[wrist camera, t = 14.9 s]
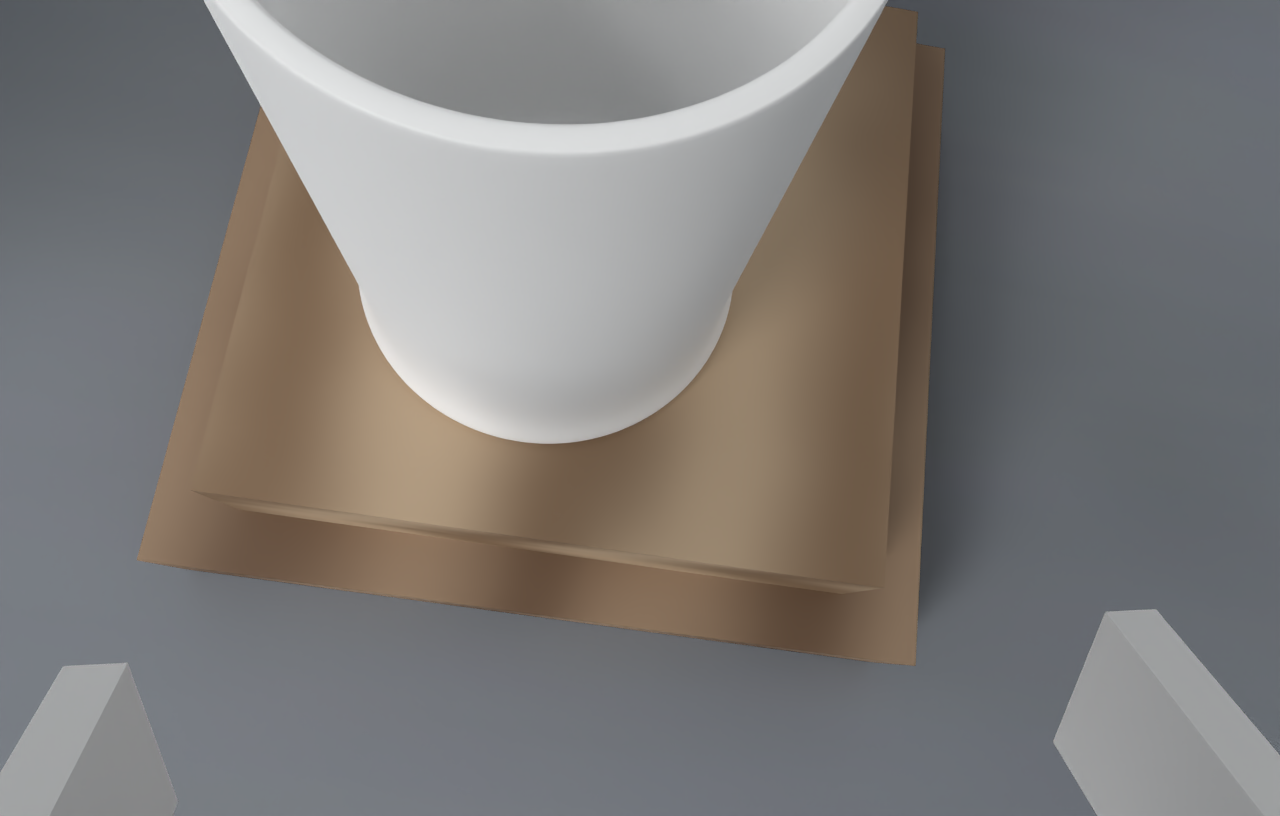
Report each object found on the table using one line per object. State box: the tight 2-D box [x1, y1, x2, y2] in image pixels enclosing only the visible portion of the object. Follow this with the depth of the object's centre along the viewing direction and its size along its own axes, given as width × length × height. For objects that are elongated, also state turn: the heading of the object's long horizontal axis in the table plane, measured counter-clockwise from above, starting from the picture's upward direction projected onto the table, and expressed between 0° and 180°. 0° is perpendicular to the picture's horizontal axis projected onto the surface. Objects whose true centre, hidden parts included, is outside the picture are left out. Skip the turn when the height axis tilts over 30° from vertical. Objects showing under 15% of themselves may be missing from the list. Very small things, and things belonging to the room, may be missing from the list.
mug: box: [204, 0, 888, 444], centre depth 15 cm, size 12×8×12 cm
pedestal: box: [137, 6, 945, 666], centre depth 24 cm, size 19×18×6 cm
